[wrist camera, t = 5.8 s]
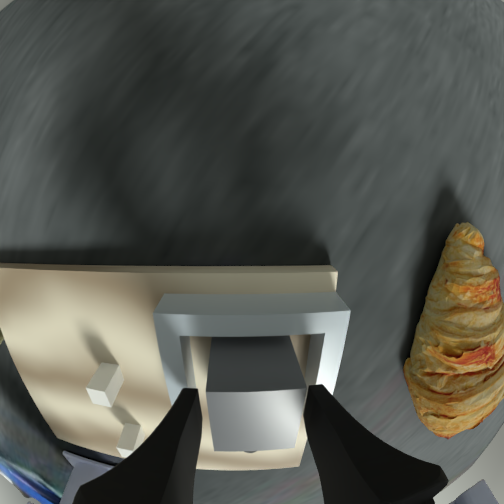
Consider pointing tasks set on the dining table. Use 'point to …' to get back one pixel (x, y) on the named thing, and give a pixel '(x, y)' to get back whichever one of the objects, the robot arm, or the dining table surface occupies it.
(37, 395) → the board
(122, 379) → the twin white cubes
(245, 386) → the block
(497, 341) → the croissant
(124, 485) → the robot arm
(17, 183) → the dining table surface
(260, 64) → the dining table surface
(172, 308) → the end holder
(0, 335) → the figurine
